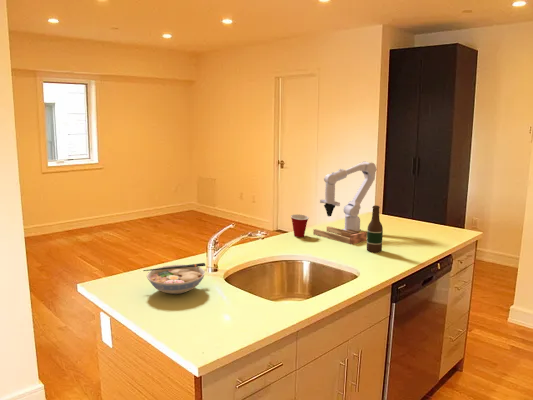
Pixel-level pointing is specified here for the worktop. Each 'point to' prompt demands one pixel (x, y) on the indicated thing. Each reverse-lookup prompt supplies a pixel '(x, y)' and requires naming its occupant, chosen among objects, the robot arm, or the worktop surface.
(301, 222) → the plastic cup
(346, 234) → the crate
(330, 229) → the bay
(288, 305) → the worktop surface
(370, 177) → the robot arm
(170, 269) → the ramen bowl
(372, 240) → the beer bottle
